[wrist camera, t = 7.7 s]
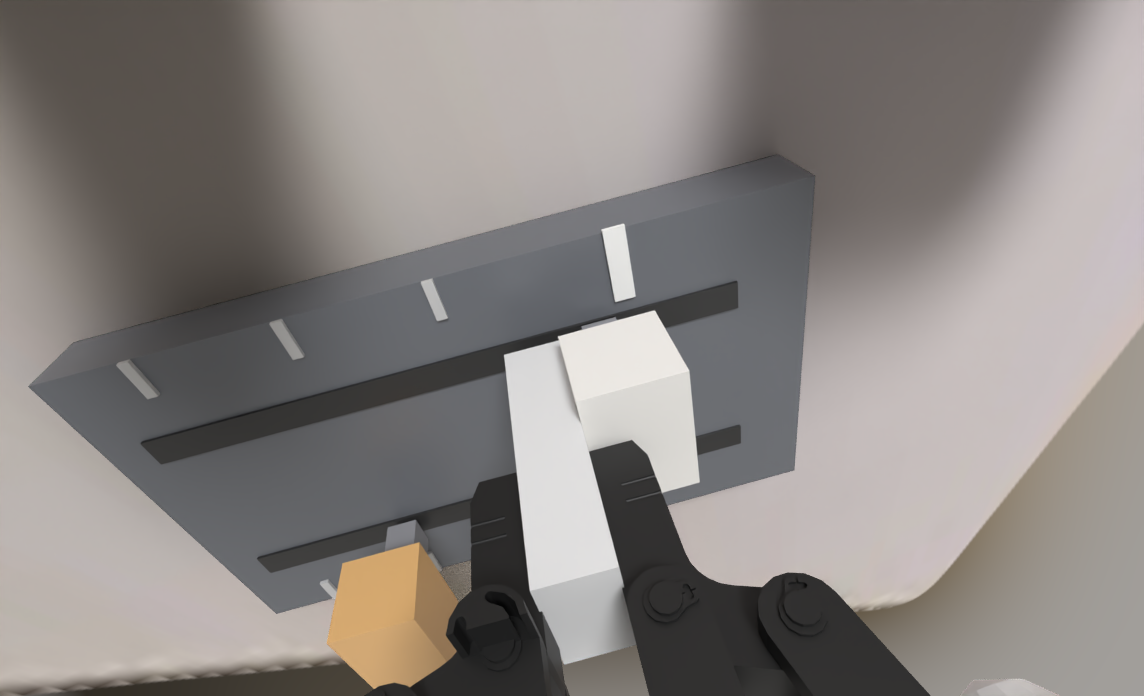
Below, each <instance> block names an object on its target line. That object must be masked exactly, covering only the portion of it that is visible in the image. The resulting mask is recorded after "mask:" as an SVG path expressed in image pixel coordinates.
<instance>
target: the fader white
mask: <svg viewBox="0 0 1144 696" xmlns="http://www.w3.org/2000/svg"><path fill="white" fill-rule="evenodd" d="M581 327H582V330H580V331H576V332H573V333H569V334H565V335H562V336H558V339H559V342H560V346H561V350H562V354H563V357H564V361H565V365H566V369H567V372H568V376H569V380H570V384H571V387H572V391H573V395H574V398H575V402H576V406H577V410H578V413H579V417H580V420H581V424H582V428H583V431H584V435H585V439H586V442H587V446H588V450H589V451H592V450H596V449H600V448H604V447H607V446H611V445H615V444H619V443H622V442H626V441H630V440H633V441H634V442H635V443H636V444H637V445H638V446H639V447H640V448H641V449H642V450H643V451H644V452H645V453H646V454H648V457H649V460H650V462H651V465H652V468H653V470H654V473H655V476H656V478H657V481H658V483H659V486H660V488H661V492H662V493H663V492H667V491H670V490H674V489H678V488H681V487H685V486H688V485H692V484H696V483H699V482H700V479H699V469H698V458H697V447H696V437H695V426H694V415H693V405H692V394H691V383H690V373H689V369H688V368H687V366H686V364H685V362H684V361H683V359H682V357H681V355H680V354H679V352H678V350H677V348H676V347H675V345H674V343H673V341H672V340H671V338H670V336H669V334H668V333H667V331H666V329H665V327H664V326H663V324H662V322H661V320H660V319H659V317H658V315H657V313H656V312H655V310H654V311H650V312H646V313H643V314H639V315H635V316H632V317H628V318H624V319H621V320H617V319H616V317H614V318H610V319H606V320H603V321H599V322H595V323H592V324H588V325H584V326H581Z"/></svg>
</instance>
